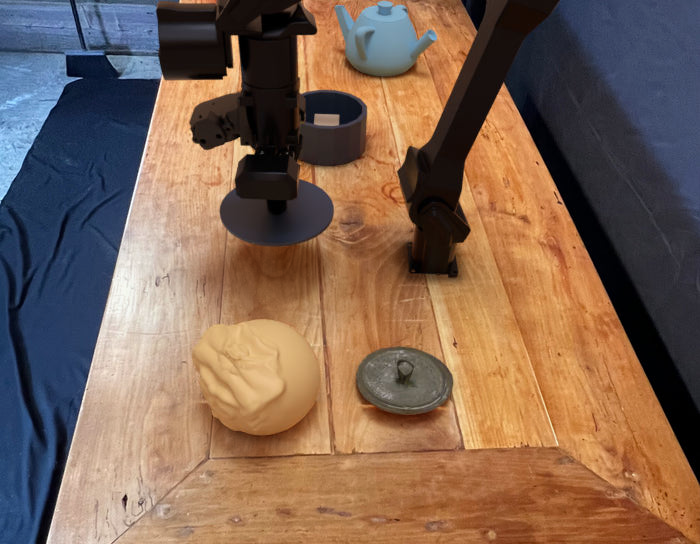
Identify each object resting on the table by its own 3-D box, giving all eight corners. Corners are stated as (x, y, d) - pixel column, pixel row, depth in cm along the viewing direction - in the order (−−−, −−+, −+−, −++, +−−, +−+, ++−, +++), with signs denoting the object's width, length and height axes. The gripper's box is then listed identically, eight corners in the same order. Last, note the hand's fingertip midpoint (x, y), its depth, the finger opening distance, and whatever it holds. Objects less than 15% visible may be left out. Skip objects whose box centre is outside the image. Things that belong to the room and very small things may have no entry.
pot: (365, 167, 99) (367, 129, 94) (285, 164, 99) (284, 126, 94) (364, 127, 108) (366, 91, 103) (291, 124, 107) (290, 88, 103)
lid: (384, 445, 66) (397, 425, 62) (336, 370, 69) (345, 347, 65) (459, 404, 70) (476, 384, 66) (410, 336, 74) (424, 312, 69)
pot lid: (332, 253, 71) (333, 215, 67) (212, 249, 71) (206, 211, 67) (334, 185, 80) (335, 149, 77) (228, 182, 80) (224, 145, 76)
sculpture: (186, 402, 67) (168, 331, 59) (276, 348, 72) (270, 278, 64) (248, 473, 61) (238, 406, 53) (341, 409, 67) (344, 340, 59)
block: (338, 149, 102) (338, 126, 99) (313, 149, 102) (313, 125, 99) (338, 137, 104) (339, 114, 101) (314, 136, 104) (314, 113, 101)
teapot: (358, 87, 118) (361, 24, 109) (332, 50, 129) (333, -10, 120) (433, 79, 121) (442, 17, 113) (401, 43, 132) (407, -15, 124)
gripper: (204, 36, 69) (220, 162, 81) (171, 119, 57) (196, 254, 68) (305, 40, 70) (307, 165, 81) (294, 123, 57) (298, 257, 69)
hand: (277, 206), depth 75 cm, fingers closed on pot lid, 2 cm apart
